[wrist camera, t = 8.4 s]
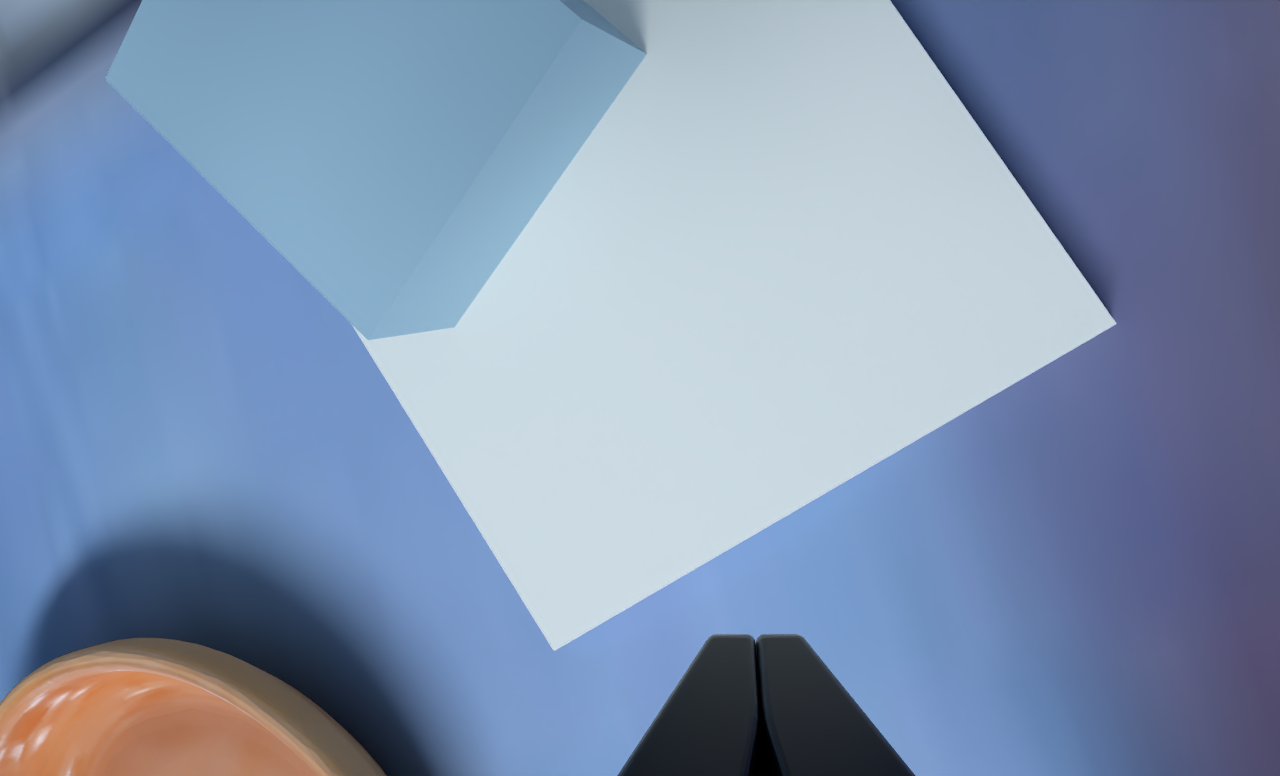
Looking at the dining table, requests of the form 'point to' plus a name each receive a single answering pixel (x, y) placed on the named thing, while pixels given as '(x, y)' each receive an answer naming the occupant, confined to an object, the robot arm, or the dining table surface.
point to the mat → (733, 301)
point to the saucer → (168, 718)
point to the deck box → (378, 130)
